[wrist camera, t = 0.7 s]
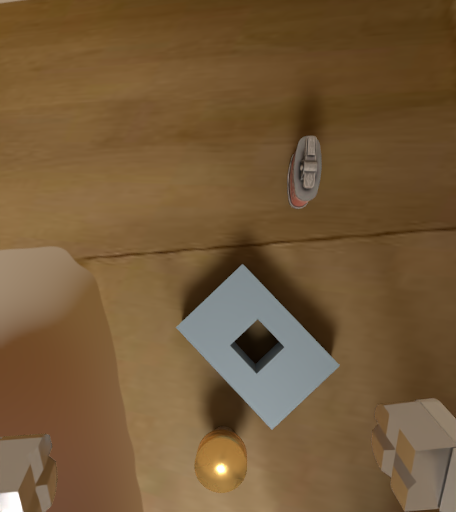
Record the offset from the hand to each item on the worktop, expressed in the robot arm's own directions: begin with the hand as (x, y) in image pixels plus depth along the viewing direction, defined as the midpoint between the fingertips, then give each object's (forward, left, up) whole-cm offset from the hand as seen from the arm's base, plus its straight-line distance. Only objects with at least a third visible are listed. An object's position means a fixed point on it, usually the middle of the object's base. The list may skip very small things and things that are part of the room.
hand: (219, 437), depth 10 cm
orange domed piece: (-13, +16, -46) cm, 50 cm away
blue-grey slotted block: (-6, +3, -46) cm, 47 cm away
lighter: (+6, -17, -46) cm, 50 cm away
